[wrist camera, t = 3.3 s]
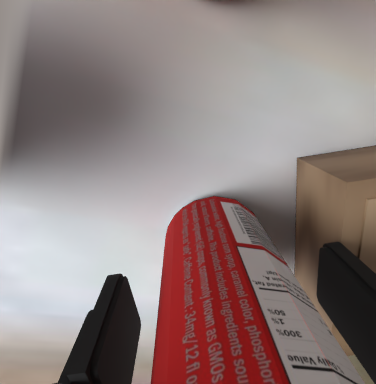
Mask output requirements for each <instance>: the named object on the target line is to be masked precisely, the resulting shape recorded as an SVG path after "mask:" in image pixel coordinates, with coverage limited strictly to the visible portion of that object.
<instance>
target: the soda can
mask: <svg viewBox="0 0 376 384" xmlns="http://www.w3.org/2000/svg"><path fill="white" fill-rule="evenodd" d="M151 384H365V383H364V381H363V380H362V378H361V377H360V375H359V373H358V372H357V370H356V369H355V367H354V366H353V364H352V363H351V361H350V360H349V358H348V357H347V355H346V354H345V352H344V351H343V349H342V348H341V346H340V345H339V343H338V341H337V340H336V338H335V337H334V335H333V334H332V332H331V331H330V329H329V328H328V326H327V325H326V323H325V322H324V320H323V319H322V317H321V316H320V314H319V312H318V311H317V309H316V308H315V306H314V305H313V303H312V302H311V300H310V299H309V297H308V296H307V294H306V293H305V291H304V290H303V288H302V287H301V285H300V283H299V282H298V280H297V279H296V277H295V276H294V274H293V273H292V271H291V270H290V268H289V267H288V265H287V264H286V262H285V261H284V259H283V258H282V256H281V254H280V253H279V251H278V250H277V248H276V247H275V245H274V244H273V242H272V241H271V239H270V238H269V236H268V235H267V233H266V232H265V230H264V229H263V227H262V225H261V224H260V222H259V221H258V219H257V218H256V216H255V215H254V213H253V212H252V211H250V210H249V209H248V208H246V207H245V206H244V205H242V204H241V203H240V202H238V201H237V200H235V199H229V198H223V197H217V196H213V197H209V198H204V199H200V200H196V201H193V202H192V203H190V204H188V205H186V206H185V207H183V208H182V209H181V210H180V211H179V212H178V213H177V214H176V215H175V216H174V217H173V219H172V221H171V222H170V224H169V226H168V229H167V233H166V239H165V249H164V259H163V268H162V278H161V288H160V298H159V308H158V318H157V328H156V338H155V348H154V357H153V367H152V377H151Z"/></svg>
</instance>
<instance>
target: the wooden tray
mask: <svg viewBox="0 0 376 384" xmlns="http://www.w3.org/2000/svg"><path fill="white" fill-rule="evenodd" d="M331 242H340V243H342V244H343V245H344V246H345V247H346V248H347V249H348V250H350V251H351V252H352V253H353V254H354V255H355V256H356V257H358V258H359V259H360V260H361V261H362V262H363V263H364V264H365V265H367V266H368V267H369V268H370V269H371V270H372V271H373V272H375V273H376V146H370V147H364V148H357V149H351V150H345V151H338V152H332V153H325V154H319V155H313V156H306V157H300V158H297V187H296V236H295V277H296V279H297V280H298V282H299V283H300V285H301V287H302V288H303V290H304V291H305V293H306V294H307V296H308V297H309V299H310V300H311V302H312V303H313V305H314V306H315V308H316V309H317V311H318V312H319V314H320V316H321V317H322V319H323V320H324V322H325V323H326V325H327V326H328V328H329V329H330V331H331V332H332V334H333V335H334V337H335V338H336V340H337V341H338V343H339V345H340V346H341V348H342V349H343V351H344V352H345V354H346V355H347V356H352V355H355V354H354V353H353V352H352V350H351V349H350V347H349V346H348V344H347V343H346V341H345V340H344V338H343V337H342V336H341V334H340V333H339V331H338V330H337V328H336V327H335V325H334V324H333V323H332V321H331V320H330V318H329V317H328V315H327V314H326V312H325V311H324V309H323V308H322V307H321V305H320V304H319V302H318V299H317V295H316V293H317V278H318V263H319V250H320V248H321V247H323V245H324V244H325V243H331Z"/></svg>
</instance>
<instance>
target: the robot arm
mask: <svg viewBox="0 0 376 384" xmlns="http://www.w3.org/2000/svg"><path fill="white" fill-rule="evenodd" d="M316 295H317V299H318V302H319V304H320V305H321V307H322V308H323V309H324V311H325V312H326V314H327V315H328V317H329V318H330V320H331V321H332V323H333V324H334V325H335V327H336V328H337V330H338V331H339V333H340V334H341V336H342V337H343V338H344V340H345V341H346V343H347V344H348V346H349V347H350V349H351V350H352V352H353V353H354V354H355V356H356V357H357V359H358V360H359V362H360V363H361V365H362V366H363V368H364V369H365V370H366V372H367V373H368V375H369V376H370V378H371V379H372V381H373V382H374V383H375V384H376V273H375V272H373V271H372V270H371V269H370V268H369V267H368V266H367V265H365V264H364V263H363V262H362V261H361V260H360V259H359V258H358V257H356V256H355V255H354V254H353V253H352V252H351V251H350V250H348V249H347V248H346V247H345V246H344V245H343V244H342V243H340V242H331V243H325V244H324V245H323V247H321V248H320V250H319V263H318V278H317V293H316ZM140 329H141V321H140V317H139V314H138V311H137V308H136V304H135V301H134V298H133V295H132V292H131V289H130V285H129V282H128V279H127V277H126V276H124V277H123V275H122V274H114V275H108V276H107V278H106V280H105V283H104V285H103V288H102V290H101V293H100V295H99V297H98V300H97V302H96V305H95V307H94V310H91V311H89V312H88V314H87V316H86V318H85V321H84V323H83V325H82V328H81V330H80V332H79V335H78V337H77V339H76V342H75V344H74V346H73V349H72V351H71V353H70V355H69V358H68V360H67V362H66V365H65V367H64V369H63V372H62V374H61V376H60V379H59V381H58V383H54V384H131V382H132V376H133V371H134V365H135V359H136V353H137V347H138V341H139V335H140Z"/></svg>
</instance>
